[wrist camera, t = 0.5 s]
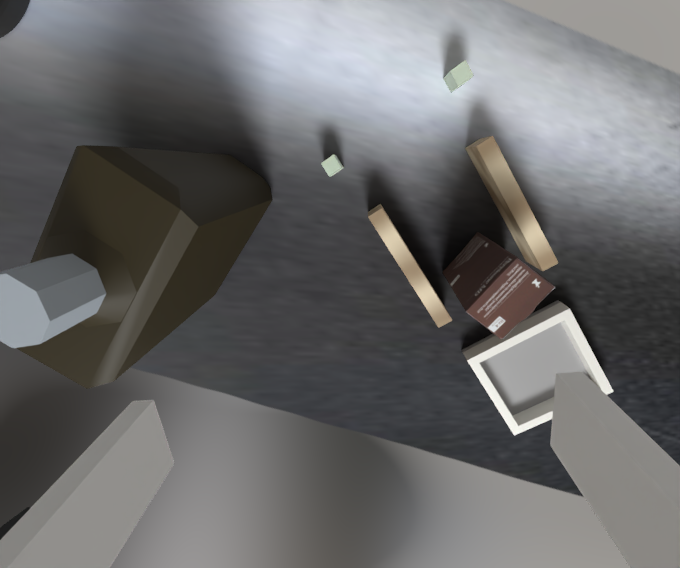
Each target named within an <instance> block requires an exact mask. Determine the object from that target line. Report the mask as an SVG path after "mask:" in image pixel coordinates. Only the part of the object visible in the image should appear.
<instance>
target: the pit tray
mask: <svg viewBox="0 0 680 568" xmlns="http://www.w3.org/2000/svg"><path fill="white" fill-rule="evenodd" d="M462 352H463V354H464V356H465V358H466V359H467V361H468V363H469V364H470V366H471V368H472V369H473V371H474V372H475V374H476V376H477V377H478V379H479V380H480V382H481V383H482V385H483V387H484V388H485V390H486V391H487V393H488V395H489V396H490V398H491V399H492V401H493V402H494V404H495V406H496V407H497V409H498V410H499V412H500V414H501V415H502V417H503V418H504V420H505V421H506V423H507V425H508V426H509V428H510V429H511V431H512V433H513V434H514V435H516V434H519V433H521V432H523V431H526V430H528V429H530V428H532V427H535V426H537V425H539V424H541V423H544V422H546V421H548V420H550V419H552V417H553V405H554V392H555V380H556V373H570V372H583V373H584V374H585V375H586V376H587V377H588V378H589V379H590V380H591V381H592V382H593V383H594V384H595V385H597V386H598V387H599V388H600V389H601V390H602V391H603V392H604V393H605V394H606V395H607V394H609V393H611V392H614V391H613V390H612V388H611V386H610V384H609V382H608V380H607V378H606V376H605V374H604V372H603V371H602V369H601V367H600V365H599V363H598V361H597V359H596V357H595V355H594V353H593V352H592V350H591V348H590V346H589V344H588V342H587V340H586V338H585V336H584V334H583V333H582V331H581V329H580V327H579V325H578V323H577V321H576V319H575V317H574V315H573V314H572V312H571V310H570V308H569V307H567V306H566V305H564V304H563V303H562V302H560V301H559V300H557V301H555V302H553V303H551V304H549V305H547V306H546V307H544V308H542V309H540V310H538V311H536V312H534V313H532V314H530V315H529V316H528V317H527V318H526V319H524V320H523V321H521V322H520V323H519V324H517V325H516V326H515V328H514V329H513V330H512V331H511V332H510V333H508V335H507V336H506V337H505V338H503V339H499V338H498V337H497V336H496V335H494V334H491V335H489V336H488V337H486V338H484V339H482V340H480V341H478V342H476V343H474V344H472V345H470V346H468V347H466V348H464V349H462Z"/></svg>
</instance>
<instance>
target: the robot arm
mask: <svg viewBox="0 0 680 568" xmlns="http://www.w3.org/2000/svg"><path fill="white" fill-rule="evenodd" d="M29 1H30V0H0V38H1V37H3V36H4V35H6V34H8V33H9V32H10V31H11V30H12V29H13V28H15V27H16V25H17V24H18V23H19V22H20V20H21V19H22V17H23V15H24V14H25V12H26V9H27V7H28V4H29ZM550 446H551V447H552V449H553V450H554V452H555V453H556V455H557V456H558V458H559V459H560V461H561V463H562V464H563V466H564V467H565V469H566V470H567V472H568V473H569V475H570V476H571V478H572V479H573V481H574V482H575V484H576V485H577V487H578V488H579V490H580V492H581V493H582V495H583V496H584V498H585V499H586V501H587V502H588V504H589V505H590V507H591V508H592V510H593V511H594V513H595V514H596V516H597V517H598V519H599V521H600V522H601V524H602V525H603V527H604V528H605V530H606V531H607V533H608V534H609V536H610V537H611V539H612V540H613V542H614V543H615V545H616V546H617V548H618V550H619V551H620V552H621V554H622V556H623V557H624V559H625V560H626V562H627V563H628V565H629V566H630V568H680V466H679V465H678V464H677V463H676V462H675V461H674V460H673V459H672V458H671V457H670V456H669V455H668V454H667V453H666V452H665V451H664V450H663V449H662V448H661V447H660V446H659V445H658V444H656V443H655V442H654V441H653V440H652V439H651V438H650V437H649V436H648V435H647V434H646V433H645V432H644V431H643V430H642V429H641V428H640V427H639V426H638V425H637V424H636V423H635V422H634V421H633V420H632V419H631V418H630V417H629V416H628V415H626V414H625V413H624V412H623V411H622V410H621V409H620V408H619V407H618V406H617V405H616V404H615V403H614V402H613V401H612V400H611V399H610V398H609V397H608V396H607V395H606V394H605V393H604V392H603V391H602V390H601V389H600V388H599V387H598V386H597V385H595V384H594V383H593V382H592V381H591V380H590V379H589V378H588V377H587V376H586V375H585V374H584V373H583V372H570V373H556V380H555V392H554V405H553V417H552V430H551V442H550ZM173 465H174V460H173V457H172V454H171V451H170V448H169V445H168V442H167V439H166V436H165V433H164V429H163V427H162V423H161V420H160V417H159V414H158V411H157V408H156V405H155V402H154V400H143V401H132V402H131V404H129V406H128V407H127V408H126V409H125V410H124V411H123V412H122V413H121V414H120V415H119V416H118V417H117V418H116V419H115V420H114V421H113V422H112V423H111V424H110V425H109V427H108V428H107V429H106V430H105V431H104V432H103V433H102V434H101V435H100V436H99V437H98V438H97V439H96V440H95V441H94V442H93V443H92V444H91V445H90V446H89V448H88V449H87V450H86V451H85V452H84V453H83V454H82V455H81V456H80V457H79V458H78V459H77V460H76V461H75V462H74V463H73V464H72V465H71V466H70V467H69V468H68V470H67V471H66V472H65V473H64V474H63V475H62V476H61V477H60V478H59V479H58V480H57V481H56V482H55V483H54V484H53V485H52V487H50V488H49V489H48V490H47V492H46V493H45V494H44V495H43V496H42V497H41V498H40V499H39V500H38V501H37V502H36V503H35V504H34V505H33V506H32V507H28V508H26V509H25V510H23V511H22V512H21V513H19V514H18V515H17V516H15V517H14V518H12V519H11V520H10V521H9V522H7V523H6V524H4V525H3V526H2V527H1V528H0V568H110V567H111V565H112V564H113V562H114V560H115V559H116V557H117V555H118V554H119V552H120V551H121V549H122V547H123V546H124V544H125V542H126V541H127V539H128V538H129V536H130V534H131V533H132V531H133V530H134V528H135V526H136V525H137V523H138V521H139V520H140V518H141V517H142V515H143V514H144V512H145V510H146V509H147V507H148V506H149V504H150V502H151V501H152V499H153V497H154V496H155V494H156V493H157V491H158V489H159V488H160V486H161V485H162V483H163V481H164V480H165V478H166V476H167V475H168V473H169V472H170V470H171V468H172V467H173Z"/></svg>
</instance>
